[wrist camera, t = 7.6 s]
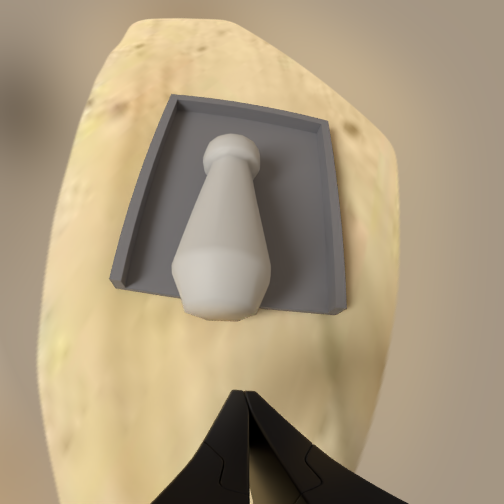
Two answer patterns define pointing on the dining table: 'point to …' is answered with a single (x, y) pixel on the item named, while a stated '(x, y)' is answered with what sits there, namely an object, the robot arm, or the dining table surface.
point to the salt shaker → (224, 237)
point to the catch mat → (267, 195)
